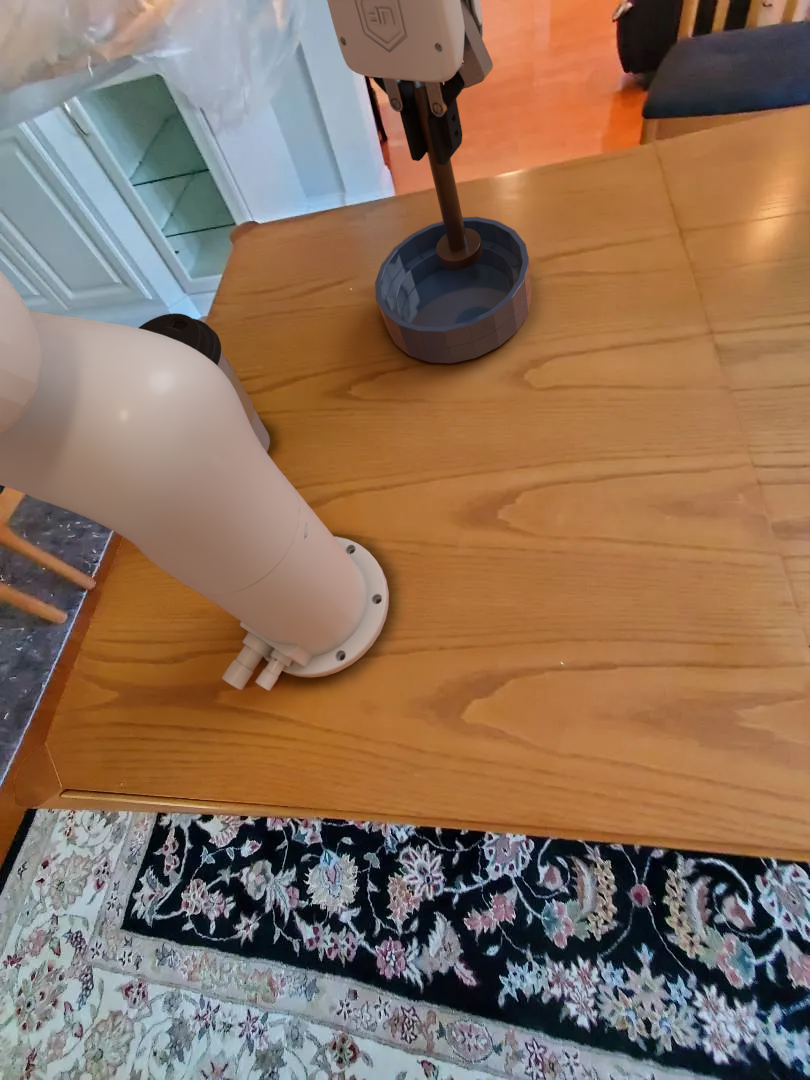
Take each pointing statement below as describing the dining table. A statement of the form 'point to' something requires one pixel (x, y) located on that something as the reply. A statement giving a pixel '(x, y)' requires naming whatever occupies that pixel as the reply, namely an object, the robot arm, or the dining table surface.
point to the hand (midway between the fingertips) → (437, 150)
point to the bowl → (455, 294)
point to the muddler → (447, 200)
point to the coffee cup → (210, 346)
